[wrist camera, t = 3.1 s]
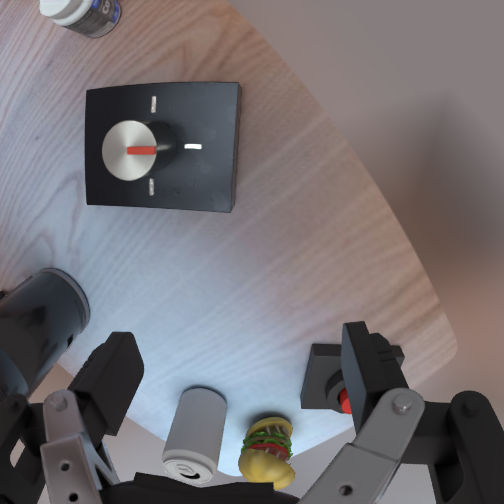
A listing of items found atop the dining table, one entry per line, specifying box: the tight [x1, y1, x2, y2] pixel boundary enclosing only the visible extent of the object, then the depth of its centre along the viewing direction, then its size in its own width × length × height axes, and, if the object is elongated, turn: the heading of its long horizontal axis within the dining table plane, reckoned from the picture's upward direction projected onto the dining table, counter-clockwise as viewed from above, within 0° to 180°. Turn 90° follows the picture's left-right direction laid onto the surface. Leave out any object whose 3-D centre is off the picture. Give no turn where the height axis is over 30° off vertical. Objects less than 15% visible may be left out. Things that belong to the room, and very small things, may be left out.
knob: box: [102, 120, 177, 181], centre depth 23 cm, size 4×4×5 cm
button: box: [340, 388, 352, 414], centre depth 33 cm, size 4×4×2 cm
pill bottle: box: [40, 0, 121, 37], centre depth 20 cm, size 5×5×8 cm
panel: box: [85, 82, 242, 213], centre depth 27 cm, size 14×11×3 cm
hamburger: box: [238, 417, 295, 490], centre depth 36 cm, size 8×7×12 cm
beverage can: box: [162, 388, 227, 484], centre depth 34 cm, size 6×6×12 cm
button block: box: [300, 344, 405, 413], centre depth 35 cm, size 11×9×4 cm
